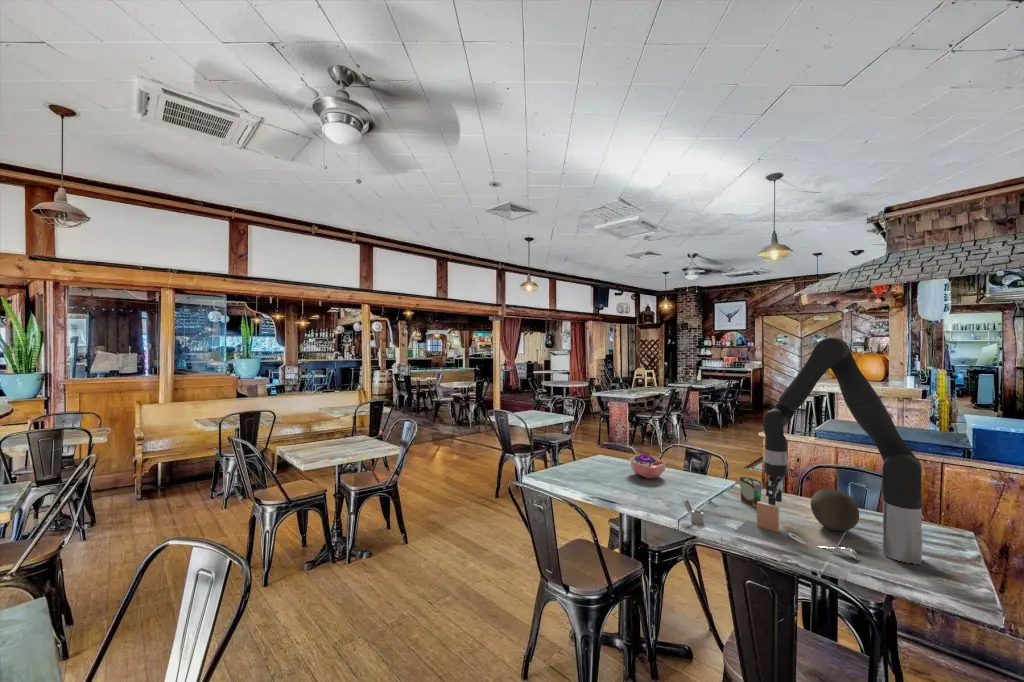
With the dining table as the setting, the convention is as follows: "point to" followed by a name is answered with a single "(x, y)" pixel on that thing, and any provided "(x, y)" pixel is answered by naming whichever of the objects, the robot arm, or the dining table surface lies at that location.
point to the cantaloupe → (835, 509)
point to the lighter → (694, 513)
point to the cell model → (647, 466)
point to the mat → (764, 533)
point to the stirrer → (842, 548)
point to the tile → (768, 516)
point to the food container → (750, 490)
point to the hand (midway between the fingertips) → (775, 504)
